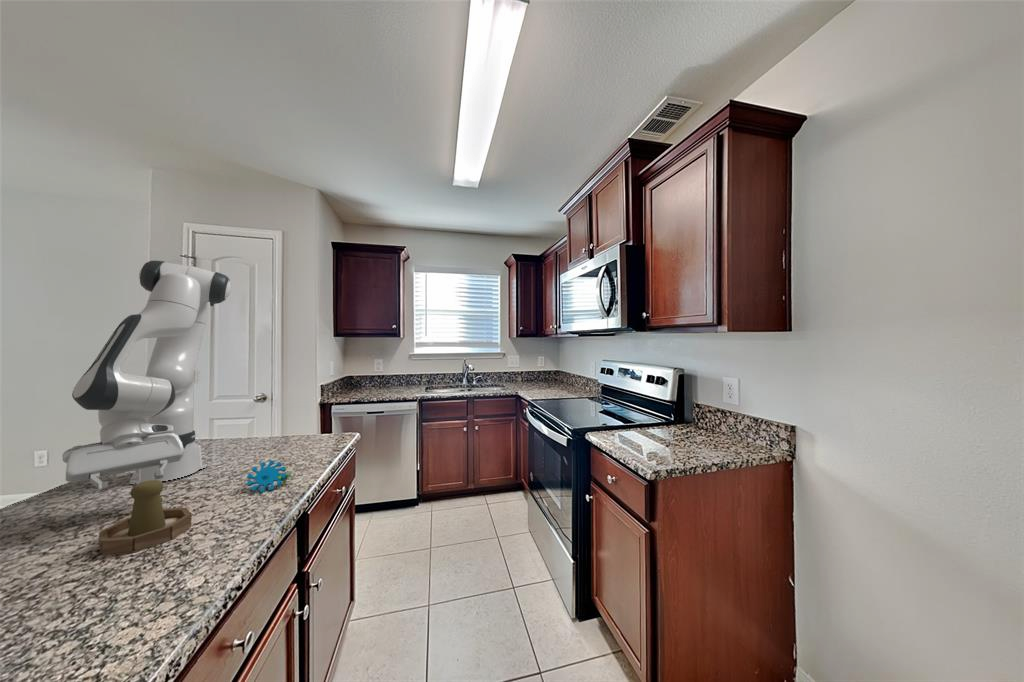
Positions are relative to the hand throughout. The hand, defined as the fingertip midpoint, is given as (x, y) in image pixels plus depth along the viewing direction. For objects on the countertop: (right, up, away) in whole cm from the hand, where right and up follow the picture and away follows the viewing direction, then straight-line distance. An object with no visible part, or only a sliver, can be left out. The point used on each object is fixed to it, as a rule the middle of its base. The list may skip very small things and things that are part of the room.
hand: (132, 483), depth 85 cm
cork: (+10, -8, -6) cm, 15 cm away
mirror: (+11, -9, -7) cm, 16 cm away
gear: (+20, -10, +20) cm, 30 cm away
